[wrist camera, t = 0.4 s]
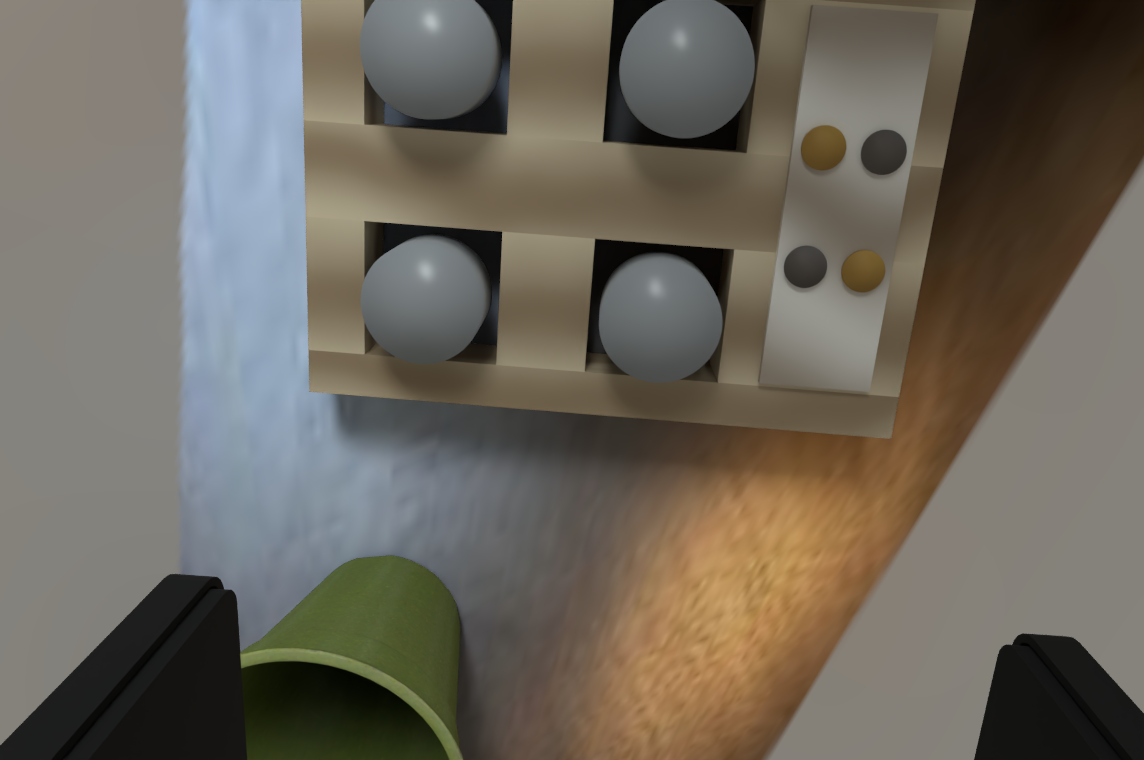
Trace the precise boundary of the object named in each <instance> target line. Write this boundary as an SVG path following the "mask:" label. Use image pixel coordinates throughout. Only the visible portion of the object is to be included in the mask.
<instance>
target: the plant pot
mask: <svg viewBox="0 0 1144 760" xmlns="http://www.w3.org/2000/svg"><path fill="white" fill-rule="evenodd" d="M459 649H460V620H459V614H458V610H457V607H456V603H455V600H454V598H453V596H452V595H451V593H450V592H449V590H448V589H447V588H446V587H445V585H444V584H443V583H442V582H441V580H440V579H439V578H438V577H437V576H436V575H435V574H433V573H432V572H431V571H429V570H428V569H426V568H425V567H423V566H421V565H419V564H417V563H415V562H413V561H410V560H408V559H405V558H401V557H397V556H379V557H365V558H357V559H354V560H351V561H349V562H347V563H344V564H343V565H341V566H340V567H338V568H337V569H336V570H334V571H333V572H332V573H331V574H330V575H329V576H328V577H327V578H326V579H324V580H323V581H322V582H321V583H320V584H319V585H318V586H317V587H316V588H315V589H314V590H313V591H312V592H311V593H310V594H309V595H308V596H306V597H305V598H304V599H303V600H302V601H301V602H300V603H299V604H298V605H297V606H296V607H295V608H294V609H293V610H292V611H291V612H290V613H289V614H287V615H286V616H285V617H284V618H283V619H282V620H281V621H280V622H279V623H278V624H277V625H276V626H275V627H274V628H273V629H272V630H270V631H269V632H268V633H267V634H266V635H265V636H264V637H263V638H262V639H261V640H260V641H257V642H256V643H254V644H252V645H250V646H249V647H247V648H246V649H244V650H243V651H242V652H240V656H241V671H242V686H243V701H244V717H245V732H246V747H247V760H464V758H463V756H462V753H461V751H460V748H459V736H458V730H457V726H456V712H457V691H458V669H459Z"/></svg>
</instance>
